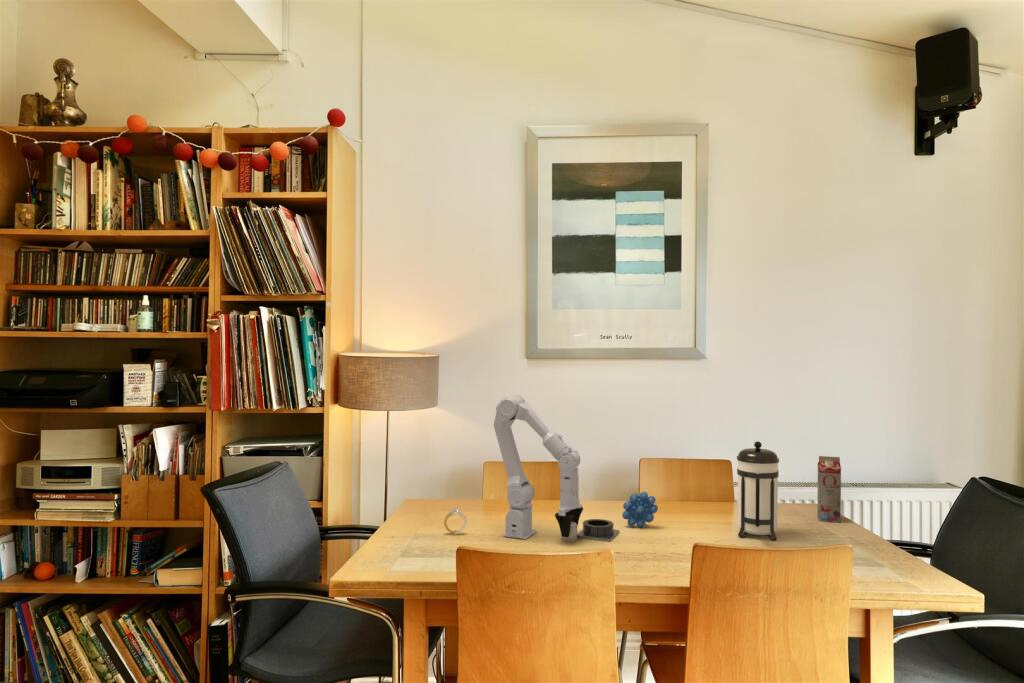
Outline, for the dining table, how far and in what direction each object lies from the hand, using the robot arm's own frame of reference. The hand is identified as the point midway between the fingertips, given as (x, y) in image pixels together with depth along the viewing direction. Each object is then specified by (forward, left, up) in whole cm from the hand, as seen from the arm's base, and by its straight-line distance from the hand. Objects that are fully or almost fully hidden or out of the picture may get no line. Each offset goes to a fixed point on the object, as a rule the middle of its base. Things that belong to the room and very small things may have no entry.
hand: (569, 533), depth 212 cm
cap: (0, 0, -2) cm, 2 cm away
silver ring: (-10, +35, -2) cm, 37 cm away
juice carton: (+59, -75, -2) cm, 95 cm away
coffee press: (+28, -54, -2) cm, 61 cm away
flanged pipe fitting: (+8, -7, -2) cm, 11 cm away
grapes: (+23, -17, -2) cm, 29 cm away
